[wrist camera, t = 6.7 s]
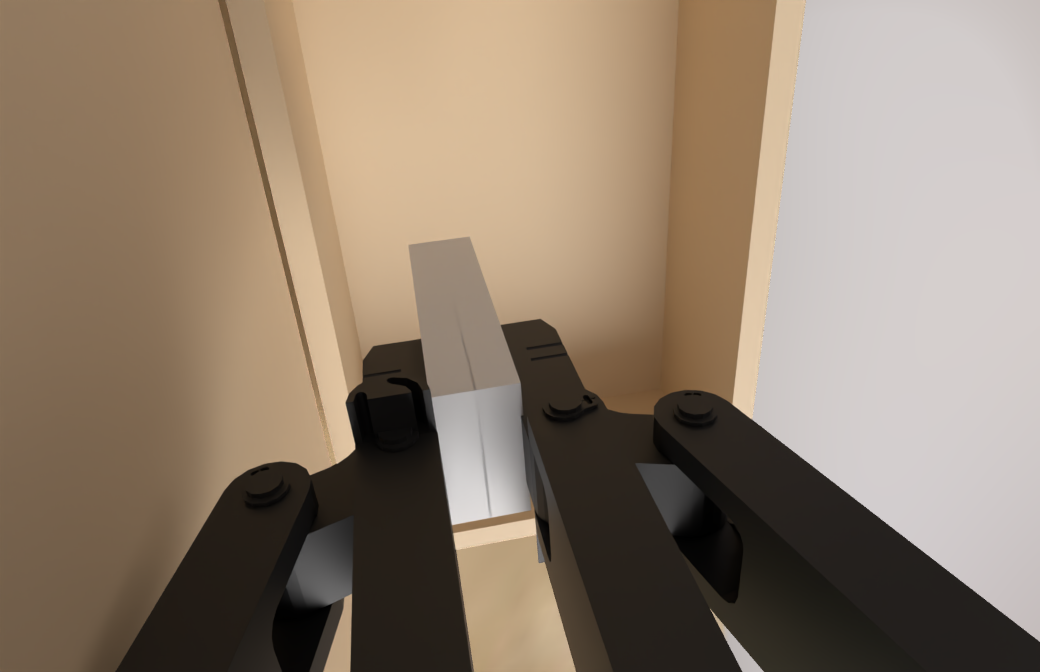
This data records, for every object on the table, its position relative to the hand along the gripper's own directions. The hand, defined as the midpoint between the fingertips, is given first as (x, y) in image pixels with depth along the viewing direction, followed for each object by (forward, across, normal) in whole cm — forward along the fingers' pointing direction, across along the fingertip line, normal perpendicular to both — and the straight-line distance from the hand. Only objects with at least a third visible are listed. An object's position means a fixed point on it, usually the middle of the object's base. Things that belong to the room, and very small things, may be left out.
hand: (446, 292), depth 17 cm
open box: (+10, +3, 0) cm, 10 cm away
